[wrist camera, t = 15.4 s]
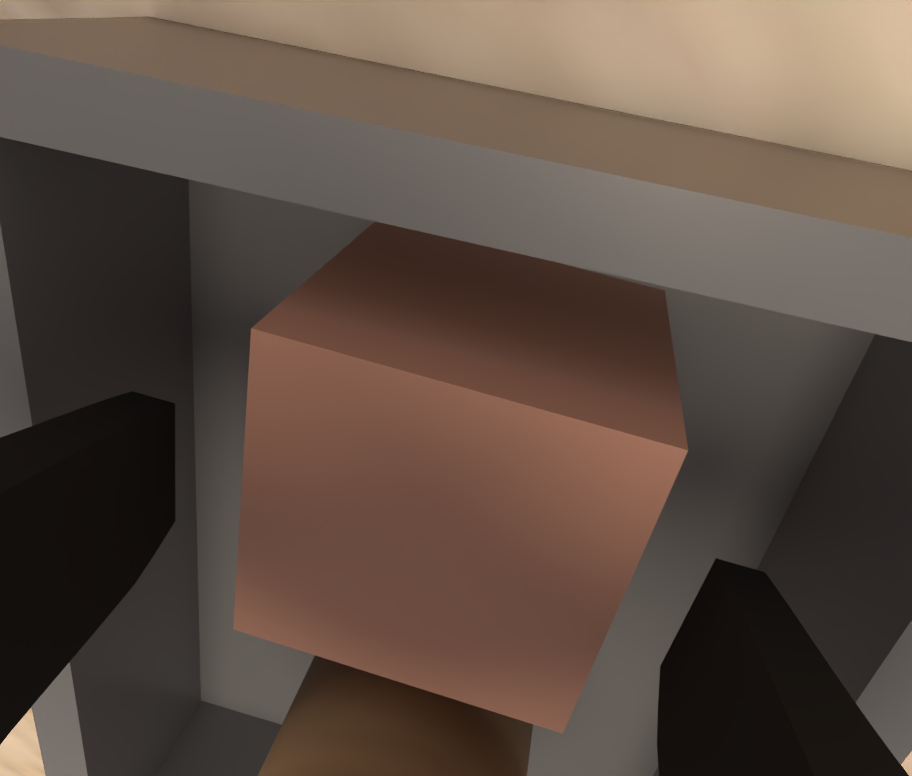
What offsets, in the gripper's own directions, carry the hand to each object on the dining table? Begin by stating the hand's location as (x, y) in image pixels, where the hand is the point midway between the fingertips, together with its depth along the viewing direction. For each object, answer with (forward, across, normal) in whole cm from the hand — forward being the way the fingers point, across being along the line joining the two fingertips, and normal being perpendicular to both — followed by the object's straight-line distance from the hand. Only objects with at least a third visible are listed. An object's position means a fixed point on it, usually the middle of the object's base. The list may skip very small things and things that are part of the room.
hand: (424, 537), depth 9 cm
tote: (+5, 0, +4) cm, 7 cm away
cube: (+5, 0, 0) cm, 5 cm away
